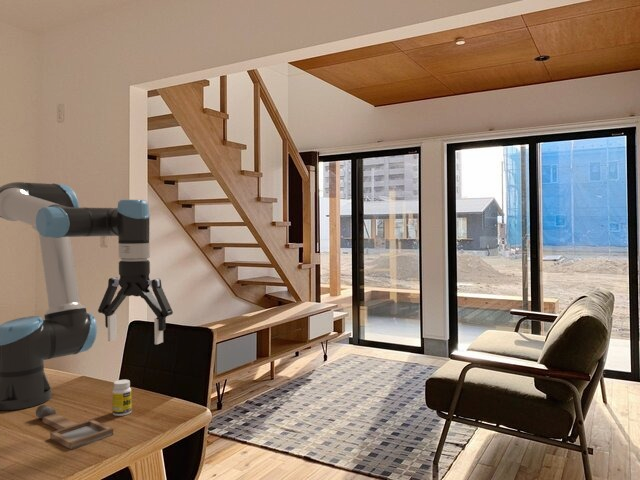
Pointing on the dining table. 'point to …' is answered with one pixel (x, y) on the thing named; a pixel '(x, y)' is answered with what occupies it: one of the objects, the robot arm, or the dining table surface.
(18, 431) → the dining table surface
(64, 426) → the wooden tray with handle
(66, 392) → the dining table surface
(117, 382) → the supplement bottle
